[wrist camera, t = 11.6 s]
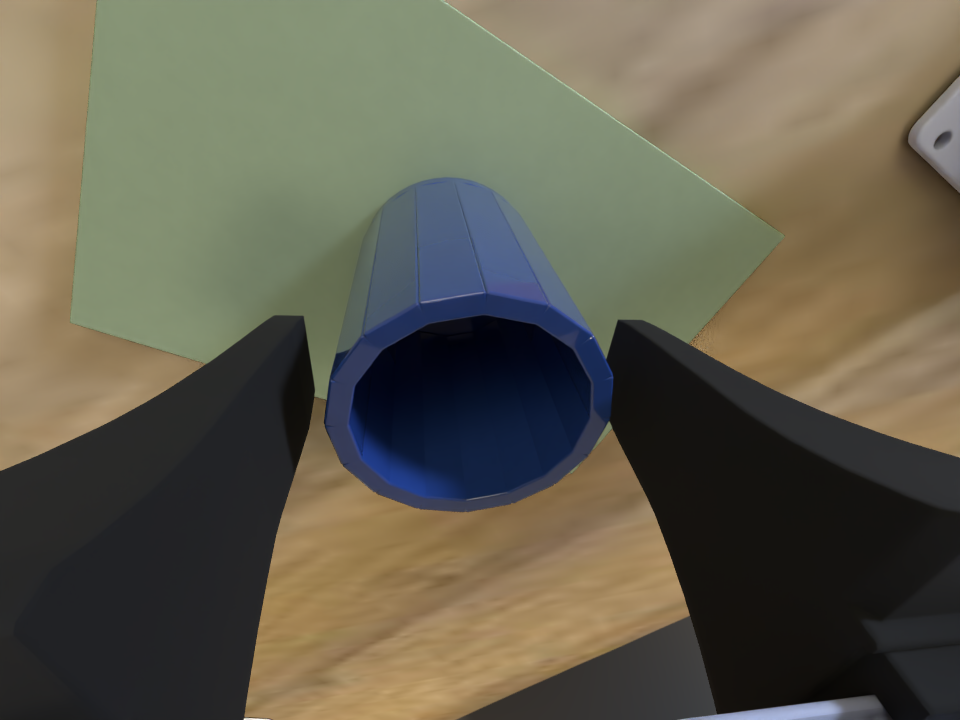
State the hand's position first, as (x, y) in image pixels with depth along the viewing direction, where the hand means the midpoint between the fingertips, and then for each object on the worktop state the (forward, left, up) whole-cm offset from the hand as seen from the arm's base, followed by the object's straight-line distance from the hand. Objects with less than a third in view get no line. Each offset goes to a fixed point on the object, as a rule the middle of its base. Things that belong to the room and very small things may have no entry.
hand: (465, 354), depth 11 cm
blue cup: (0, 0, -5) cm, 5 cm away
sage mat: (0, +1, -6) cm, 6 cm away
